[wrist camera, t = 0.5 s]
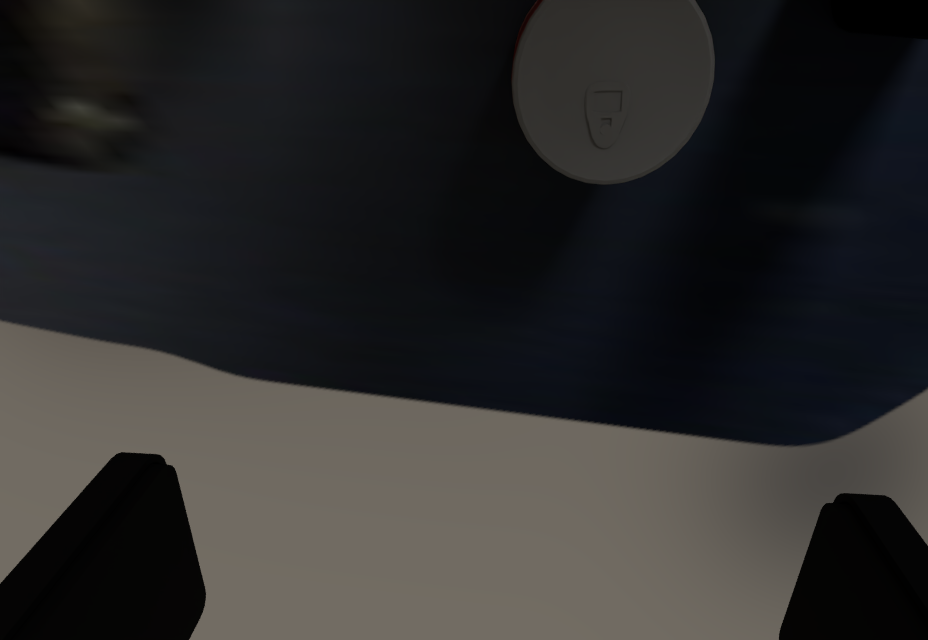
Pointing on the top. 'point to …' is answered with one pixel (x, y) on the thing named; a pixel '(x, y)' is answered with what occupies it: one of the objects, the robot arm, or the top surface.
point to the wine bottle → (883, 17)
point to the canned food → (611, 84)
